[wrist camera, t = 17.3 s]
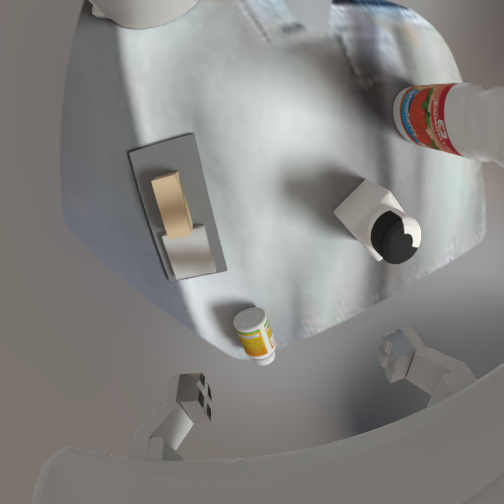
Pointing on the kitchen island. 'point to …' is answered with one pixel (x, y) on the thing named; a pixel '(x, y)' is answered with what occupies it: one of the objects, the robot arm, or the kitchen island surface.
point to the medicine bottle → (379, 223)
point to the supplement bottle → (255, 335)
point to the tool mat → (190, 170)
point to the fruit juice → (454, 119)
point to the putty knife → (181, 230)
